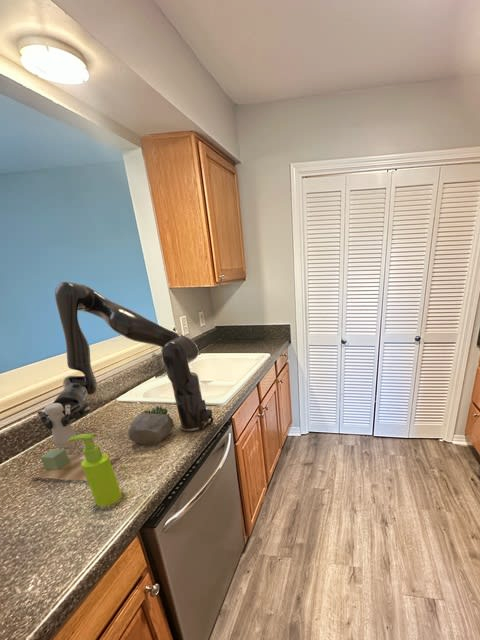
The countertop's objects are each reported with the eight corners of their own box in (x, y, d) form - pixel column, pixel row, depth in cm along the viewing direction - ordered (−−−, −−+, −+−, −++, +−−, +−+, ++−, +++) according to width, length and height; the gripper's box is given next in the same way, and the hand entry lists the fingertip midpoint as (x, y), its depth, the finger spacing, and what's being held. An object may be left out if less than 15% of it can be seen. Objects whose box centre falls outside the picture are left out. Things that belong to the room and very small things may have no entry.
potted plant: (120, 441, 107) (136, 411, 119) (157, 456, 113) (169, 426, 124) (134, 420, 101) (149, 391, 113) (172, 437, 107) (183, 407, 118)
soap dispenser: (99, 495, 88) (75, 430, 79) (125, 493, 88) (104, 428, 80) (88, 510, 82) (61, 443, 74) (116, 508, 83) (92, 440, 75)
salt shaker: (67, 450, 93) (51, 410, 88) (51, 448, 94) (34, 408, 89) (83, 439, 98) (69, 401, 93) (68, 438, 100) (53, 400, 94)
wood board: (116, 459, 104) (115, 456, 103) (89, 482, 93) (88, 479, 93) (67, 456, 106) (66, 454, 106) (35, 479, 96) (33, 477, 95)
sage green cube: (70, 461, 102) (65, 449, 100) (58, 470, 98) (53, 457, 96) (57, 461, 103) (52, 448, 101) (45, 469, 98) (40, 457, 97)
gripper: (40, 395, 101) (20, 418, 87) (91, 387, 106) (80, 408, 91) (49, 416, 105) (31, 442, 90) (98, 408, 109) (88, 431, 94)
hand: (56, 424), depth 91 cm, fingers closed on salt shaker, 3 cm apart
